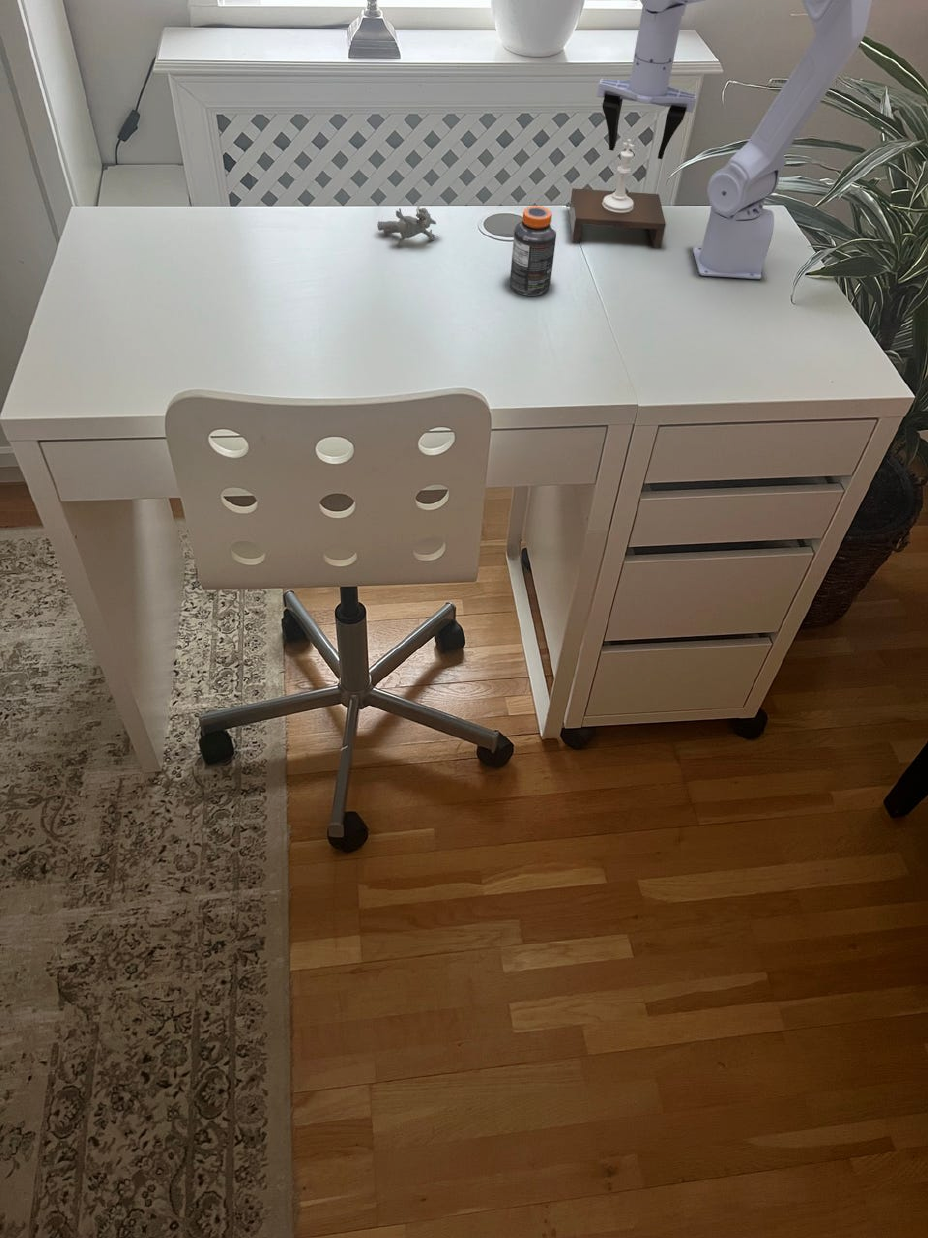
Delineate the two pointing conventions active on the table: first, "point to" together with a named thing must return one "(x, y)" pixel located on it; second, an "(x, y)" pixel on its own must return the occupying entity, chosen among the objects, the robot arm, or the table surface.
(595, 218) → the walnut shelf
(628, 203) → the chess piece
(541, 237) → the pill bottle
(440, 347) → the table surface
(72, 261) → the table surface
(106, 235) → the table surface
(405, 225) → the grey creature figurine
